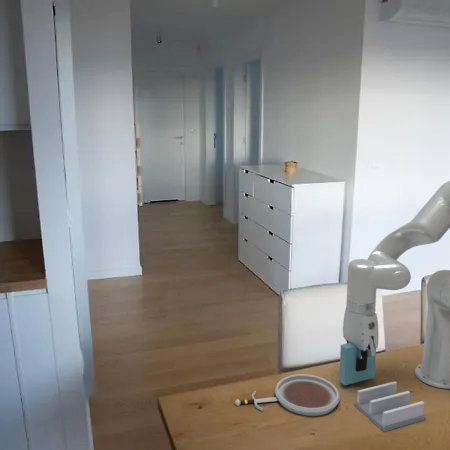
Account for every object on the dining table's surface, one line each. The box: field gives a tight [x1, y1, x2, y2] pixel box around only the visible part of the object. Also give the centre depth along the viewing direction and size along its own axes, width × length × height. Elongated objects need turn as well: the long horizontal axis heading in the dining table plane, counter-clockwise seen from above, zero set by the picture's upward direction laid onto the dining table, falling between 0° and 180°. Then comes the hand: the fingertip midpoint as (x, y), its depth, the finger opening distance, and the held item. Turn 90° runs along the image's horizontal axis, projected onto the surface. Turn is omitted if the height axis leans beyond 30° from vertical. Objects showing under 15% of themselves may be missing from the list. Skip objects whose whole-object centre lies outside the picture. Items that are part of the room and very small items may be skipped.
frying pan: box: [234, 373, 341, 417], centre depth 125 cm, size 17×3×28 cm
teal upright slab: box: [338, 342, 377, 386], centre depth 131 cm, size 10×2×11 cm, turn 112°
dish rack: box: [354, 381, 426, 433], centre depth 119 cm, size 13×11×4 cm
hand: (357, 367), depth 132 cm, fingers closed on teal upright slab, 2 cm apart
